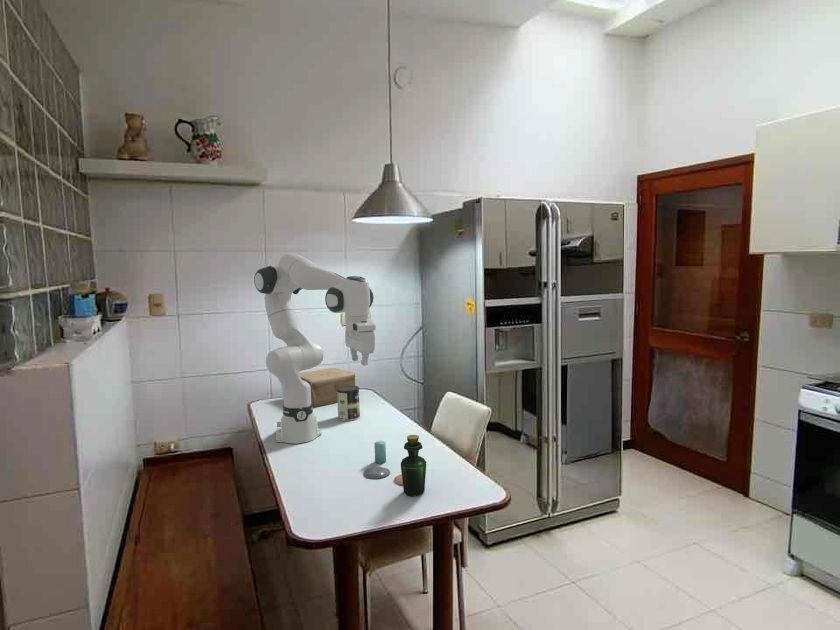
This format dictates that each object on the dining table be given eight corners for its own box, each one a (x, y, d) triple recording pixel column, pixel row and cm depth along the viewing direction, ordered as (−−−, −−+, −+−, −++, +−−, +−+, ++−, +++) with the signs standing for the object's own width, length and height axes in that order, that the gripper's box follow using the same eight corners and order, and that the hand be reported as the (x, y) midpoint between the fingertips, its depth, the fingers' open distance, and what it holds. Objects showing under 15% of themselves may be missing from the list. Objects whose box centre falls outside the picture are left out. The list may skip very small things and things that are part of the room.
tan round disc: (389, 477, 174) (389, 476, 174) (414, 472, 178) (414, 471, 178) (401, 488, 166) (400, 487, 166) (426, 482, 170) (425, 481, 170)
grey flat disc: (360, 471, 180) (359, 470, 180) (384, 466, 184) (383, 465, 184) (369, 481, 172) (369, 479, 172) (394, 475, 176) (394, 474, 176)
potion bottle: (400, 487, 167) (399, 433, 165) (426, 485, 167) (424, 431, 165) (401, 498, 159) (400, 442, 157) (428, 497, 159) (426, 440, 157)
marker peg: (373, 460, 189) (372, 442, 188) (383, 458, 191) (383, 440, 190) (377, 464, 185) (376, 445, 185) (387, 462, 187) (387, 443, 186)
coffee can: (361, 414, 246) (360, 385, 244) (358, 421, 236) (357, 390, 234) (339, 414, 246) (338, 385, 245) (336, 421, 236) (334, 391, 234)
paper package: (334, 390, 293) (333, 365, 292) (358, 399, 274) (357, 373, 272) (289, 398, 277) (288, 373, 275) (312, 409, 257) (311, 381, 255)
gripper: (340, 321, 187) (341, 359, 188) (359, 327, 169) (361, 369, 170) (356, 319, 190) (358, 357, 191) (377, 325, 171) (379, 366, 173)
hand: (359, 362), depth 180 cm, fingers open, 8 cm apart
